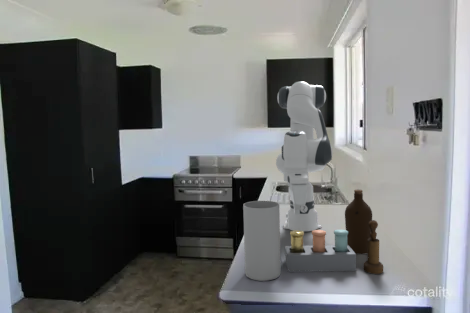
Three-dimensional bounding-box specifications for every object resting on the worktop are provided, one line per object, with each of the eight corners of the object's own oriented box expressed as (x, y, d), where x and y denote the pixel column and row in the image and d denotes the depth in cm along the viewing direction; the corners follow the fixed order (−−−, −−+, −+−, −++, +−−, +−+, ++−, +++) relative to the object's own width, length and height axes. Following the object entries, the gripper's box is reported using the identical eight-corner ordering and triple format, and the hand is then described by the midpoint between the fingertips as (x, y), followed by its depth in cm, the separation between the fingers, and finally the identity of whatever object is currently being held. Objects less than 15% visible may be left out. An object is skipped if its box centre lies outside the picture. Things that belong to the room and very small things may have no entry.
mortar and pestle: (386, 269, 130) (386, 220, 129) (379, 275, 125) (379, 224, 124) (367, 265, 135) (367, 217, 133) (360, 271, 130) (360, 221, 128)
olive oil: (377, 254, 146) (377, 191, 144) (351, 255, 145) (351, 193, 143) (365, 245, 157) (365, 187, 155) (340, 246, 156) (340, 188, 154)
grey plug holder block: (285, 261, 141) (284, 246, 141) (348, 260, 140) (348, 245, 140) (288, 271, 131) (287, 255, 131) (356, 270, 130) (356, 254, 130)
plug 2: (311, 250, 138) (310, 230, 137) (324, 250, 138) (324, 229, 137) (313, 255, 133) (313, 234, 132) (327, 254, 133) (327, 233, 132)
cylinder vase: (260, 264, 138) (259, 199, 136) (287, 273, 130) (286, 203, 128) (237, 275, 130) (235, 205, 127) (265, 285, 121) (263, 210, 119)
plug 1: (289, 250, 138) (289, 230, 138) (303, 250, 138) (302, 230, 137) (291, 255, 133) (290, 234, 133) (305, 255, 133) (304, 234, 132)
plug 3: (332, 250, 138) (332, 229, 137) (346, 249, 137) (346, 229, 137) (335, 254, 133) (335, 233, 132) (349, 254, 132) (349, 233, 132)
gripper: (284, 172, 144) (285, 207, 145) (290, 179, 123) (291, 220, 124) (300, 172, 143) (301, 207, 144) (309, 179, 123) (310, 220, 124)
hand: (296, 213), depth 134 cm, fingers closed
